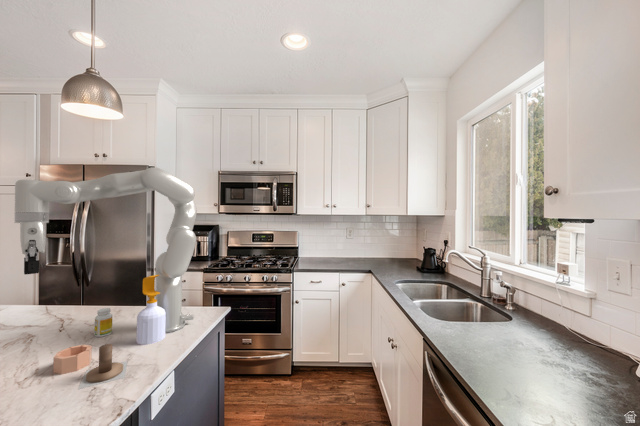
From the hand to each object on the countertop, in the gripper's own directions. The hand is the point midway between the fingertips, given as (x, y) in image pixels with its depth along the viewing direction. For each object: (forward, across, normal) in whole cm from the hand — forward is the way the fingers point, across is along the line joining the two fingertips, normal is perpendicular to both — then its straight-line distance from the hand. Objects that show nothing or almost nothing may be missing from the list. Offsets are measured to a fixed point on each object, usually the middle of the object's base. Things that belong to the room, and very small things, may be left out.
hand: (31, 271), depth 85 cm
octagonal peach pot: (+28, -16, -9) cm, 34 cm away
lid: (+28, -28, -14) cm, 42 cm away
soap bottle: (+29, -13, -30) cm, 44 cm away
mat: (+28, -28, -14) cm, 43 cm away
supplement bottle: (+29, +6, -19) cm, 35 cm away
